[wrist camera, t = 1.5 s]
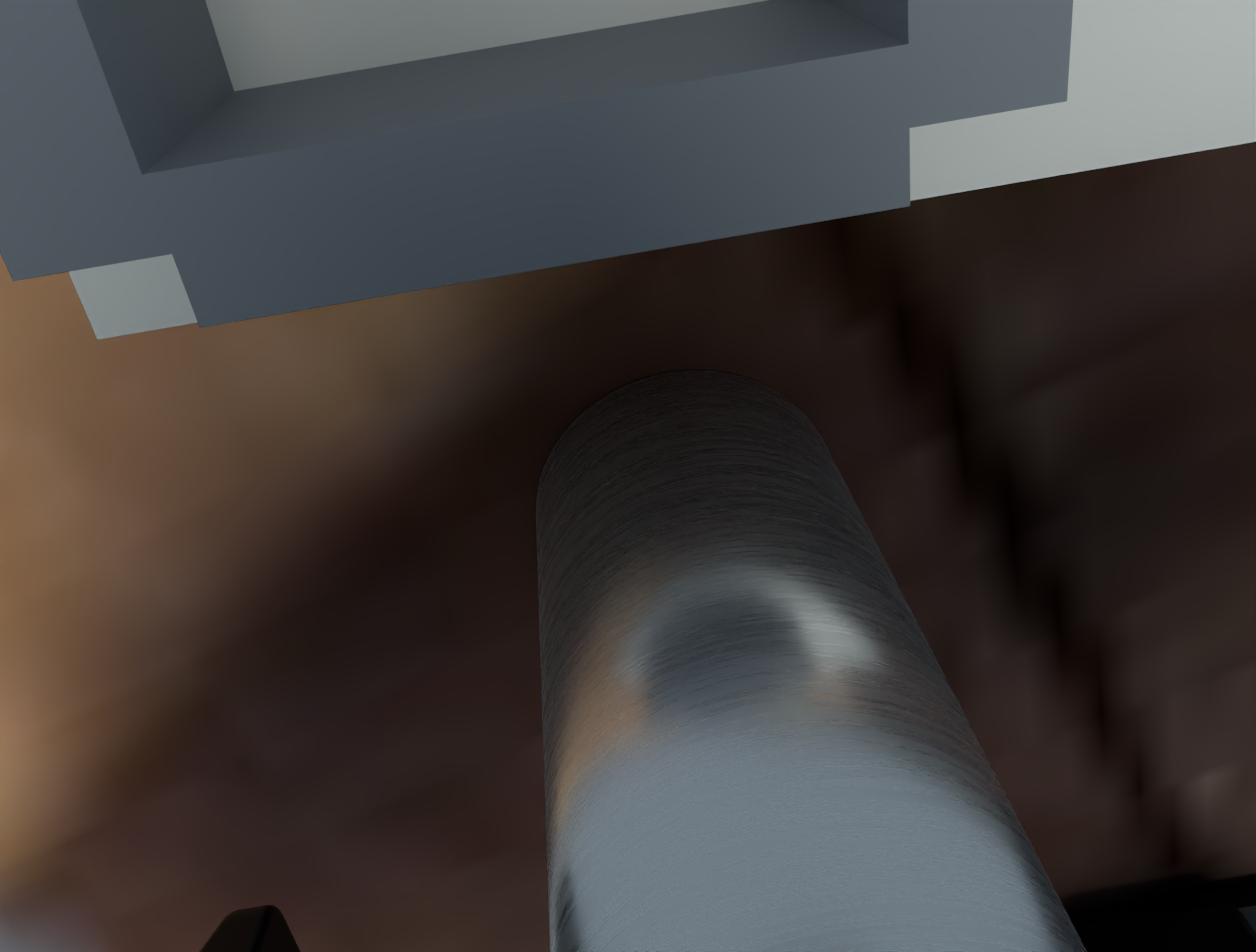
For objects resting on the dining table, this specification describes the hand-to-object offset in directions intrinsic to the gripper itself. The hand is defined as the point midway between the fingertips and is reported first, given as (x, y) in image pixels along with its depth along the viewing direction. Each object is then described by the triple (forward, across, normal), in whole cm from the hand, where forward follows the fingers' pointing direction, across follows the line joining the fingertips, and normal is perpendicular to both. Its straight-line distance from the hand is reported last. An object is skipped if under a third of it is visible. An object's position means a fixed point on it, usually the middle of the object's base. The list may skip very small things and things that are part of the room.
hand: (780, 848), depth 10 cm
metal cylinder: (+6, 0, 0) cm, 6 cm away
